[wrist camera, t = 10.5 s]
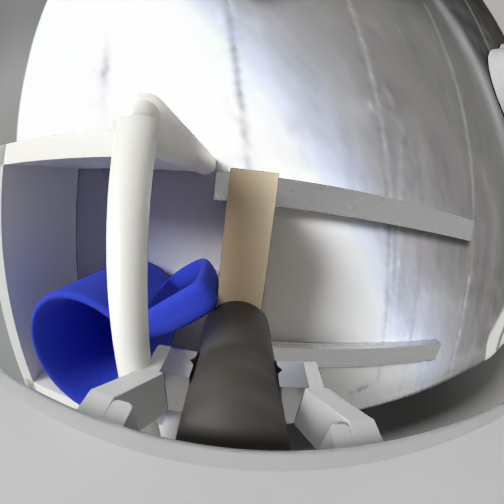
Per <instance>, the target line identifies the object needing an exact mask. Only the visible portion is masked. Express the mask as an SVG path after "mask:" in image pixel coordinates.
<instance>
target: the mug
mask: <svg viewBox="0 0 504 504" xmlns="http://www.w3.org/2000/svg"><path fill="white" fill-rule="evenodd" d="M147 286H148V323H149V341H150V355H151V357H152V355H153V353H154V351H155V350H156V348H157V346H158V345H165V346H170V347H171V344H172V341H173V337H174V334H175V331H176V330H178V329H180V328H182V327H184V326H186V325H188V324H190V323H192V322H194V321H196V320H197V319H199V318H201V317H203V316H204V315H206V314H208V313H209V312H211V311H212V310H214V309H215V307H216V306H217V300H218V288H219V281H218V276H217V273H216V271H215V269H214V267H213V266H212V264H211V263H210V262H209V261H208V260H206V259H199V260H196V261H194V262H192V263H190V264H189V265H187V266H185V267H184V268H182V269H181V270H179V271H178V272H176V273H175V274H174V275H172V276H171V277H170V278H169V276H168V275H167V274H166V273H165V272H164V271H163V270H161V269H160V268H159V267H157V266H155V265H154V264H152V263H149V262H148V271H147ZM31 337H32V342H33V346H34V349H35V352H36V355H37V357H38V359H39V361H40V363H41V365H42V367H43V369H44V370H45V372H46V373H47V375H48V376H49V377H50V379H51V380H52V381H53V382H54V384H55V385H56V386H57V387H58V388H59V389H60V390H61V391H62V392H63V393H64V394H65V395H67V396H68V397H69V398H70V399H71V400H73V401H74V402H76V403H77V404H78V405H80V404H81V403H82V401H83V400H84V398H85V397H86V395H87V394H88V393H89V391H90V390H91V389H93V388H96V387H98V386H100V385H103V384H105V383H108V382H110V381H113V380H115V379H117V378H119V377H118V371H117V366H116V360H115V353H114V347H113V340H112V332H111V323H110V314H109V303H108V289H107V268H105V269H102V270H100V271H98V272H95V273H93V274H91V275H88V276H86V277H84V278H82V279H79V280H77V281H75V282H73V283H70V284H68V285H66V286H64V287H62V288H59V289H57V290H55V291H53V292H51V293H49V294H47V295H45V296H44V297H43V298H42V299H41V300H40V301H39V302H38V303H37V305H36V307H35V309H34V311H33V314H32V318H31Z"/></svg>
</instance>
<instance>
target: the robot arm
mask: <svg viewBox="0 0 504 504" xmlns="http://www.w3.org/2000/svg"><path fill="white" fill-rule="evenodd" d="M488 64H489V71H490V75H491V79H492V83H493V86H494V89H495V92H496V95H497V98H498V100H499V103H500V105H501V108H502V110H503V112H504V44H501V46H500V49H493V50H491V51H490V53H489V56H488ZM198 353H199V352H198V351H192V350H186V349H181V348H176V347H170V346H165V345H158V346H157V348H156V350H155V351H154V353H153V355H152V357H151V362H150V364H149V365H148V366H147V367H146V368H145V369H141V370H136V371H133V372H131V373H129V374H127V375H124V376H122V377H120V378H117V379H115V380H113V381H110V382H108V383H105V384H103V385H100V386H98V387H96V388H93V389H91V390H90V391H89V393H88V394H87V395H86V397H85V398H84V400H83V401H82V403H81V404H80V405H79V407H78V408H77V409H74V408H72V407H70V406H67V405H65V404H63V403H61V402H59V401H57V400H54V399H52V398H50V397H48V396H46V395H44V394H42V393H40V392H38V391H37V390H35V389H33V388H31V387H29V386H27V385H26V384H24V383H22V382H20V381H18V380H17V379H15V378H14V377H12V376H10V375H9V374H7V373H6V372H4V371H2V370H1V369H0V504H504V402H503V403H501V404H499V405H497V406H495V407H493V408H491V409H489V410H486V411H484V412H482V413H479V414H477V415H474V416H472V417H469V418H467V419H464V420H461V421H459V422H456V423H453V424H450V425H447V426H444V427H441V428H438V429H434V430H431V431H428V432H424V433H420V434H417V435H413V436H408V437H404V438H400V439H395V440H390V441H386V442H383V439H382V437H381V435H380V433H379V430H378V428H377V426H376V423H375V421H374V419H372V418H370V417H369V416H368V415H366V414H365V413H363V412H362V411H360V410H359V409H357V408H356V407H354V406H353V405H352V404H350V403H349V402H347V401H346V400H344V399H343V398H342V397H340V396H339V395H337V394H336V393H335V392H333V391H332V390H331V389H329V388H325V387H324V384H323V381H322V378H321V375H320V371H319V368H318V365H317V362H315V361H282V360H275V366H276V372H277V376H278V377H277V380H278V386H279V391H280V393H281V397H282V403H283V409H284V414H285V420H286V423H294V424H295V426H296V427H297V428H298V429H299V430H300V431H301V432H302V434H303V435H304V436H305V437H306V438H307V439H308V440H309V441H310V442H311V444H312V445H313V446H314V447H315V448H316V449H317V450H304V451H269V450H249V449H236V448H226V447H217V446H210V445H203V444H196V443H190V442H185V441H180V440H175V439H170V438H165V437H161V436H157V435H152V434H149V433H145V432H141V430H142V429H144V428H145V427H146V426H148V425H149V424H150V423H152V422H153V421H154V420H156V419H157V418H158V417H160V416H161V415H162V414H164V413H165V412H166V411H167V409H168V410H173V411H179V412H182V410H183V406H184V402H185V398H186V394H187V390H188V387H189V385H190V381H191V378H192V374H193V368H194V365H195V363H196V360H197V357H198Z"/></svg>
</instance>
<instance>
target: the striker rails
mask: <svg viewBox="0 0 504 504" xmlns="http://www.w3.org/2000/svg"><path fill="white" fill-rule="evenodd" d="M229 177H230V172H222V171H217V172H216V181H215V190H214V199H213V200H222V201H227V195H228V186H229ZM275 206H276V207H283V208H291V209H298V210H306V211H313V212H320V213H326V214H333V215H339V216H346V217H352V218H358V219H364V220H369V221H375V222H381V223H386V224H392V225H397V226H402V227H407V228H412V229H417V230H422V231H427V232H432V233H437V234H441V235H446V236H450V237H455V238H459V239H464V240H468V241H471V238H472V232H473V226H474V221H472V220H469V219H466V218H463V217H460V216H456V215H453V214H449V213H446V212H442V211H439V210H435V209H432V208H428V207H424V206H420V205H416V204H412V203H408V202H404V201H400V200H396V199H392V198H387V197H383V196H378V195H374V194H369V193H364V192H359V191H354V190H349V189H344V188H338V187H333V186H327V185H322V184H316V183H309V182H303V181H297V180H290V179H283V178H278V185H277V194H276V202H275ZM271 342H272V347H273V353H274V358H275V360H282V361H315V362H317V365H318V368H332V367H362V366H378V365H390V364H401V363H410V362H419V361H426V360H434V359H435V357H436V355H437V353H438V350H439V348H440V346H441V343H440V342H439V341H438V340H437V339H434V340H422V341H407V342H388V343H303V342H282V341H271Z"/></svg>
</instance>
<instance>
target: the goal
mask: <svg viewBox="0 0 504 504" xmlns="http://www.w3.org/2000/svg"><path fill="white" fill-rule="evenodd" d="M215 167H216V160H215V158H214V157H213V156H212V155H211V154H210V152H209V151H208V150H207V149H206V148H205V147H204V146H203V145H202V144H201V142H200V141H199V140H198V139H197V138H196V137H195V136H194V135H193V134H192V133H191V131H190V130H189V129H188V128H187V127H186V126H185V125H184V124H183V123H182V122H181V121H180V120H179V118H178V117H177V116H176V115H175V114H174V113H173V112H172V111H171V110H170V109H169V108H168V107H167V106H166V105H165V104H164V103H163V101H162V100H161V99H160V98H158V97H157V96H155V95H152V94H145V93H144V94H138V95H135V96H133V97H131V98H129V99H128V100H126V101H125V102H124V103H123V104H122V105H121V106H120V108H119V109H118V111H117V112H116V115H115V117H114V121H113V130H108V131H93V132H82V133H72V134H63V135H56V136H49V137H42V138H36V139H30V140H25V141H19V142H14V143H10V144H5V145H1V146H0V301H1V305H2V310H3V314H4V318H5V323H6V327H7V330H8V334H9V337H10V341H11V344H12V347H13V350H14V354H15V356H16V359H17V362H18V365H19V368H20V371H21V373H22V376H23V378H24V381H25V383H26V385H27V386H29V387H31V388H33V389H35V390H37V391H38V392H40V393H42V394H44V395H46V396H48V397H50V398H52V399H54V400H57V401H59V402H61V403H63V404H65V405H67V406H70V407H72V408H74V409H77V408H78V407H79V405H78V404H77V403H76V402H74V401H73V400H71V399H70V398H69V397H68V396H67V395H65V394H64V393H63V392H62V391H61V390H60V389H59V388H58V387H57V386H56V385H55V384H54V382H53V381H52V380H51V379H50V377H49V376H48V375H47V373H46V372H45V370H44V369H43V367H42V365H41V363H40V361H39V359H38V357H37V355H36V352H35V349H34V346H33V342H32V337H31V318H32V314H33V311H34V309H35V307H36V305H37V303H38V302H39V301H40V300H41V299H42V298H43V297H44V296H45V295H47V294H49V293H51V292H53V291H55V290H57V289H59V288H62V287H64V286H66V285H68V284H70V283H73V282H75V281H77V280H78V277H77V261H76V200H77V184H78V172H79V169H80V168H110V175H109V186H108V201H107V222H106V267H107V289H108V303H109V314H110V323H111V332H112V340H113V347H114V353H115V360H116V366H117V371H118V377H119V378H120V377H122V376H124V375H127V374H129V373H131V372H133V371H136V370H141V369H145V368H146V367H147V366H148V365H149V364H150V362H151V355H150V341H149V323H148V286H147V271H148V233H149V215H150V201H151V190H152V179H153V170H154V169H161V170H180V171H194V172H196V173H199V174H202V175H208V174H210V173H212V172H213V171H214V169H215ZM190 350H192V349H190ZM192 351H196V350H192ZM181 414H182V412H179V411H173V410H168V409H167V411H166V412H165V413H164V414H162V415H161V416H160V417H158V418H157V419H156V420H154V421H153V422H152V423H150V424H149V425H148V426H146V427H145V428H144V429H142V430H141V432H145V433H149V434H152V435H157V436H161V437H165V438H170V439H176V435H177V431H178V427H179V423H180V418H181Z"/></svg>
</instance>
